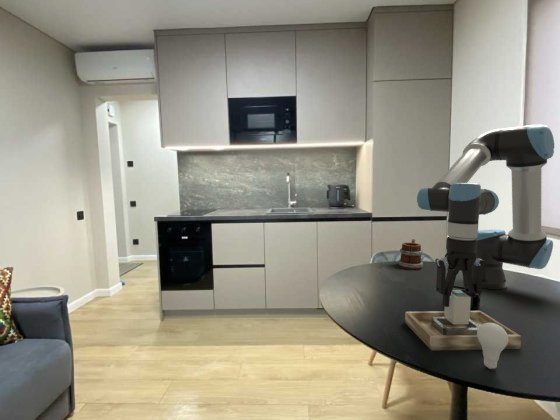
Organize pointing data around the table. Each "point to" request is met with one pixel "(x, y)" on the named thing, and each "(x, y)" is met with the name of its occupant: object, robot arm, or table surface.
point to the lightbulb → (492, 342)
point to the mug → (411, 256)
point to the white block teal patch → (460, 308)
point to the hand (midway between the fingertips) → (456, 316)
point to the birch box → (437, 341)
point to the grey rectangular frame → (441, 321)
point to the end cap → (475, 299)
